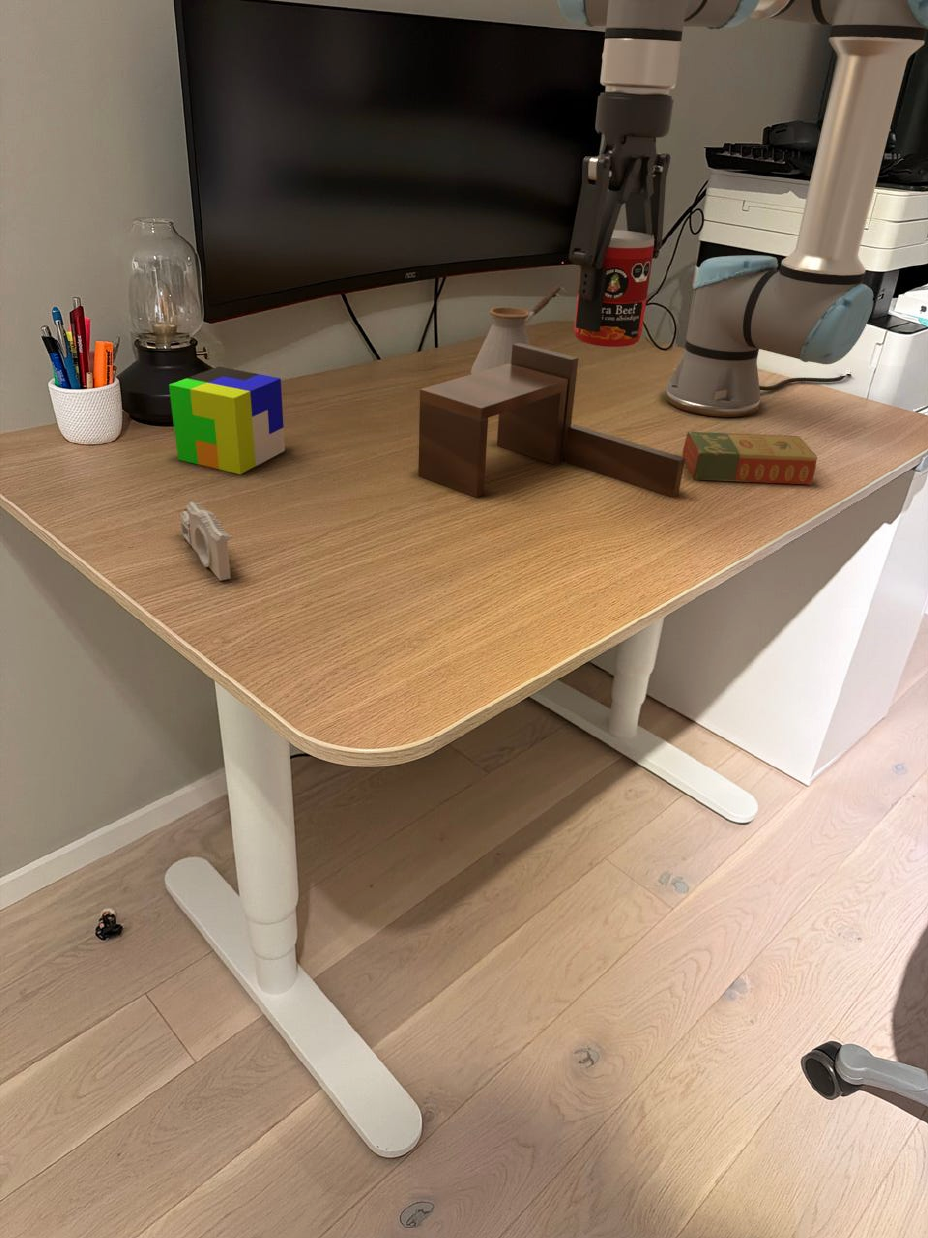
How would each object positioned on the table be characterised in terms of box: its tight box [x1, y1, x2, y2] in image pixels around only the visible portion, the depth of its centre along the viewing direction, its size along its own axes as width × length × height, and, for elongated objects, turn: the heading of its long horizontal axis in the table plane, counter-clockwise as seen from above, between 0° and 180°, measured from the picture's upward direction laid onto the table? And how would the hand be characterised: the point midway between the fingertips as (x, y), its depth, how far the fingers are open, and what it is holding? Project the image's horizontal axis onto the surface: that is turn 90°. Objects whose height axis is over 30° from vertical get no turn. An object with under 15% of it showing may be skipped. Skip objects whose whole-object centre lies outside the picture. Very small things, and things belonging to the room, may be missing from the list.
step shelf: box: [417, 343, 685, 498], centre depth 115 cm, size 20×28×14 cm
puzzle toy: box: [168, 366, 286, 475], centre depth 120 cm, size 10×10×10 cm
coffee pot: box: [470, 284, 567, 375], centre depth 153 cm, size 21×12×15 cm, turn 143°
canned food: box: [574, 229, 654, 348], centre depth 101 cm, size 8×8×11 cm
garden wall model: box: [178, 501, 232, 582], centre depth 95 cm, size 12×2×6 cm, turn 33°
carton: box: [681, 430, 818, 485], centre depth 125 cm, size 8×16×4 cm, turn 88°
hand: (608, 322), depth 103 cm, fingers closed on canned food, 8 cm apart
